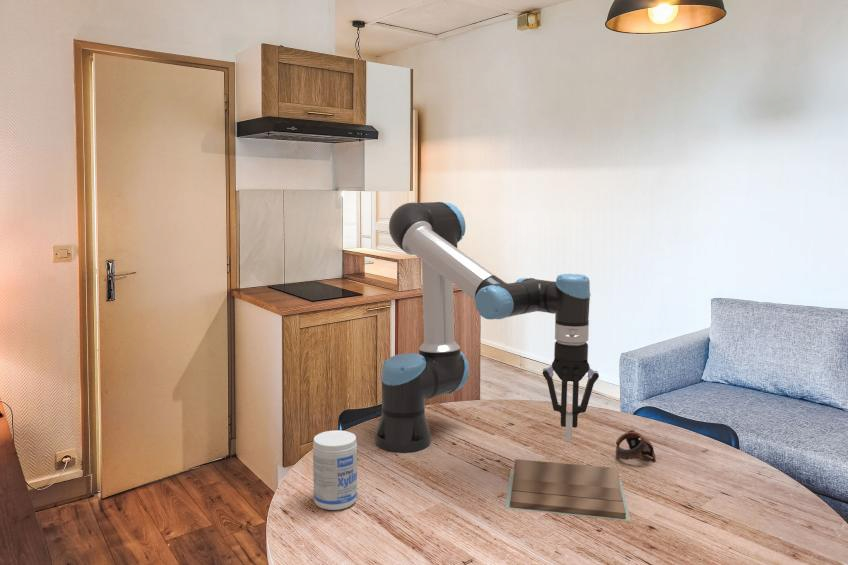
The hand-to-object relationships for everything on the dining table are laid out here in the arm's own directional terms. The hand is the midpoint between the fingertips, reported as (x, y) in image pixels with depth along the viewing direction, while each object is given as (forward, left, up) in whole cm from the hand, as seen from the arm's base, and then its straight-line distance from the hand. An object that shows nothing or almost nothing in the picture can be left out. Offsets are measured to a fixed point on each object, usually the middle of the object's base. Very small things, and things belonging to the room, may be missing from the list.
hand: (568, 439), depth 151 cm
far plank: (0, -2, -9) cm, 9 cm away
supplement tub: (-50, -21, -11) cm, 55 cm away
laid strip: (0, -14, -10) cm, 17 cm away
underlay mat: (0, -7, -10) cm, 12 cm away
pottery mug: (+18, +17, -11) cm, 27 cm away
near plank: (0, -8, -10) cm, 13 cm away
